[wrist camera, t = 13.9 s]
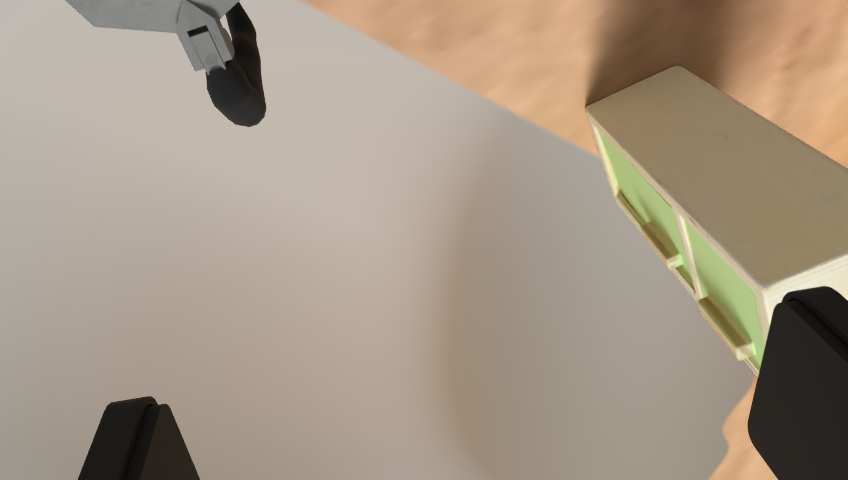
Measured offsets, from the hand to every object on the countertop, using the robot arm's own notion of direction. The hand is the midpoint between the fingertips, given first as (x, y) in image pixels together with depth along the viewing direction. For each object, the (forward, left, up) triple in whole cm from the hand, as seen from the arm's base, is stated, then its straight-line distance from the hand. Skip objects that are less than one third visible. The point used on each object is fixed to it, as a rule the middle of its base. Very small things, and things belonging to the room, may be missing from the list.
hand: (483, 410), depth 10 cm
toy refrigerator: (-17, +11, -32) cm, 38 cm away
